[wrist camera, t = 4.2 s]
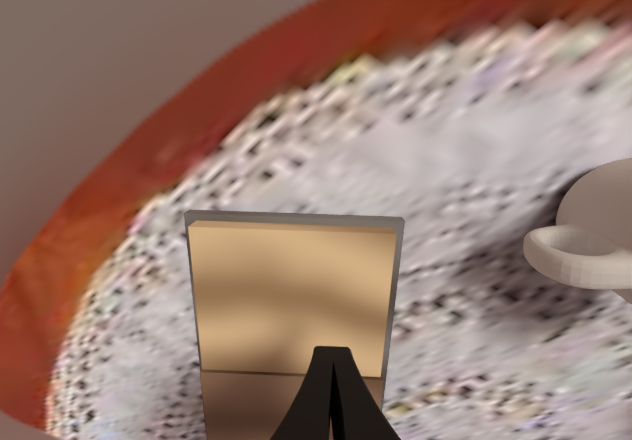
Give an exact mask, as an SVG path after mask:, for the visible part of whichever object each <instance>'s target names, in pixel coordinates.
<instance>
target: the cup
mask: <svg viewBox="0 0 632 440" xmlns="http://www.w3.org/2000/svg"><path fill="white" fill-rule="evenodd" d="M523 252H524V256H525V258H526V260H527V261H528V262H529V264H530V265H531V266H532V267H533V268H535V269H536V270H537V271H538V272H540V273H541V274H543V275H545V276H546V277H548V278H550V279H553V280H555V281H557V282H559V283H562V284H565V285H569V286H573V287H578V288H584V289H599V290H613V291H614V292H615V293H617V294H618V295H619V296H621V297H622V298H624V299H625V300H626V301H628V302H629V303H630V304H632V158H627V159H622V160H617V161H613V162H610V163H607V164H604V165H602V166H600V167H598V168H596V169H594V170H592V171H590V172H589V173H587V174H586V175H584V176H583V177H581V178H580V179H579V180H578V181H577V182H576V183H575V184H574V185H573V186H572V187H571V188H570V190H569V191H568V192H567V193H566V195H565V196H564V198H563V200H562V202H561V204H560V206H559V208H558V212H557V216H556V226H549V227H543V228H538V229H534V230H532V231H530V232H529V233H528V234H526V236H525V237H524V243H523Z"/></svg>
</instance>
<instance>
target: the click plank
mask: <svg viewBox="0 0 632 440" xmlns="http://www.w3.org/2000/svg"><path fill="white" fill-rule="evenodd" d="M188 231H189V241H190V251H191V261H192V272H193V282H194V292H195V302H196V312H197V322H198V332H199V342H200V352H201V362H202V369H207V370H230V371H253V372H277V373H300V374H306V373H307V371H308V368H309V365H310V362H311V359H312V355H313V350H314V348H315V347H316V346H339V347H349V348H350V349H351V352H352V355H353V358H354V361H355V363H356V365H357V368H358V370H359V372H360V374H361V376H370V377H381V369H382V360H383V351H384V342H385V333H386V324H387V315H388V306H389V298H390V289H391V280H392V271H393V262H394V253H395V244H396V235H397V234H396V232H395V231H394V229H393V228H392V227H369V226H341V225H312V224H284V223H255V222H227V221H198V220H196V221H195V222H194V223H192V224H191V225H190V226H188Z"/></svg>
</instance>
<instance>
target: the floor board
mask: <svg viewBox="0 0 632 440" xmlns="http://www.w3.org/2000/svg"><path fill="white" fill-rule="evenodd" d="M184 218H185V227H186V237H187V246H188V256H189V266H190V275H191V285H192V294H193V304H194V313H195V323H196V332H197V342H198V351H199V361H200V379H201V388H202V398H203V407H204V417H205V426H206V436H207V440H270V438H271V437H272V435H273V434H274V432H275V431H276V429H277V428H278V426H279V425H280V423H281V422H282V420H283V418H284V417H285V415H286V413H287V412H288V410H289V408H290V406H291V404H292V402H293V401H294V399H295V397H296V395H297V393H298V391H299V389H300V387H301V385H302V382H303V380H304V378H305V375H306V374H300V373H277V372H253V371H230V370H207V369H202V362H201V352H200V342H199V332H198V322H197V312H196V302H195V292H194V282H193V272H192V261H191V251H190V241H189V231H188V226H190V225H191V224H192V223H194V222H195V221H196V220H198V221H227V222H255V223H284V224H312V225H341V226H369V227H392V228H393V229H394V231H395V232H396V234H397V235H396V244H395V253H394V262H393V271H392V280H391V289H390V298H389V306H388V315H387V324H386V333H385V342H384V351H383V360H382V369H381V377H370V376H362V378H363V380H364V382H365V384H366V386H367V388H368V390H369V391H370V393H371V395H372V397H373V399H374V400H375V402H376V404H377V405H378V407H379V408H380V410H381V412H382V406H383V398H384V390H385V382H386V373H387V365H388V357H389V348H390V340H391V332H392V324H393V315H394V307H395V299H396V290H397V282H398V274H399V266H400V257H401V249H402V241H403V232H404V224H405V221H404V219H403V218H402V217H384V216H355V215H326V214H297V213H268V212H239V211H210V210H189V211H187V212H186V213H184ZM329 440H333V434H332V424H331V420H330V433H329Z"/></svg>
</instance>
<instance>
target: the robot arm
mask: <svg viewBox="0 0 632 440" xmlns="http://www.w3.org/2000/svg"><path fill="white" fill-rule="evenodd" d="M330 420H331V424H332V434H333V440H401V439H400V438H399V437H398V435H397V434H396V432H395V431H394V430H393V428H392V427H391V425H390V424H389V422H388V421H387V419H386V418H385V416H384V415H383V413H382V412H381V410H380V408H379V407H378V405H377V404H376V402H375V400H374V399H373V397H372V395H371V393H370V391H369V390H368V388H367V386H366V384H365V382H364V380H363V378H362V376H361V374H360V372H359V370H358V368H357V365H356V363H355V361H354V358H353V355H352V352H351V349H350V348H349V347H339V346H316V347H315V348H314V350H313V355H312V359H311V362H310V365H309V368H308V371H307V373H306V375H305V378H304V380H303V382H302V385H301V387H300V389H299V391H298V393H297V395H296V397H295V399H294V401H293V402H292V404H291V406H290V408H289V410H288V412H287V413H286V415H285V417H284V418H283V420H282V422H281V423H280V425H279V426H278V428H277V429H276V431H275V432H274V434H273V435H272V437H271V438H270V440H329V433H330Z"/></svg>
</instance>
